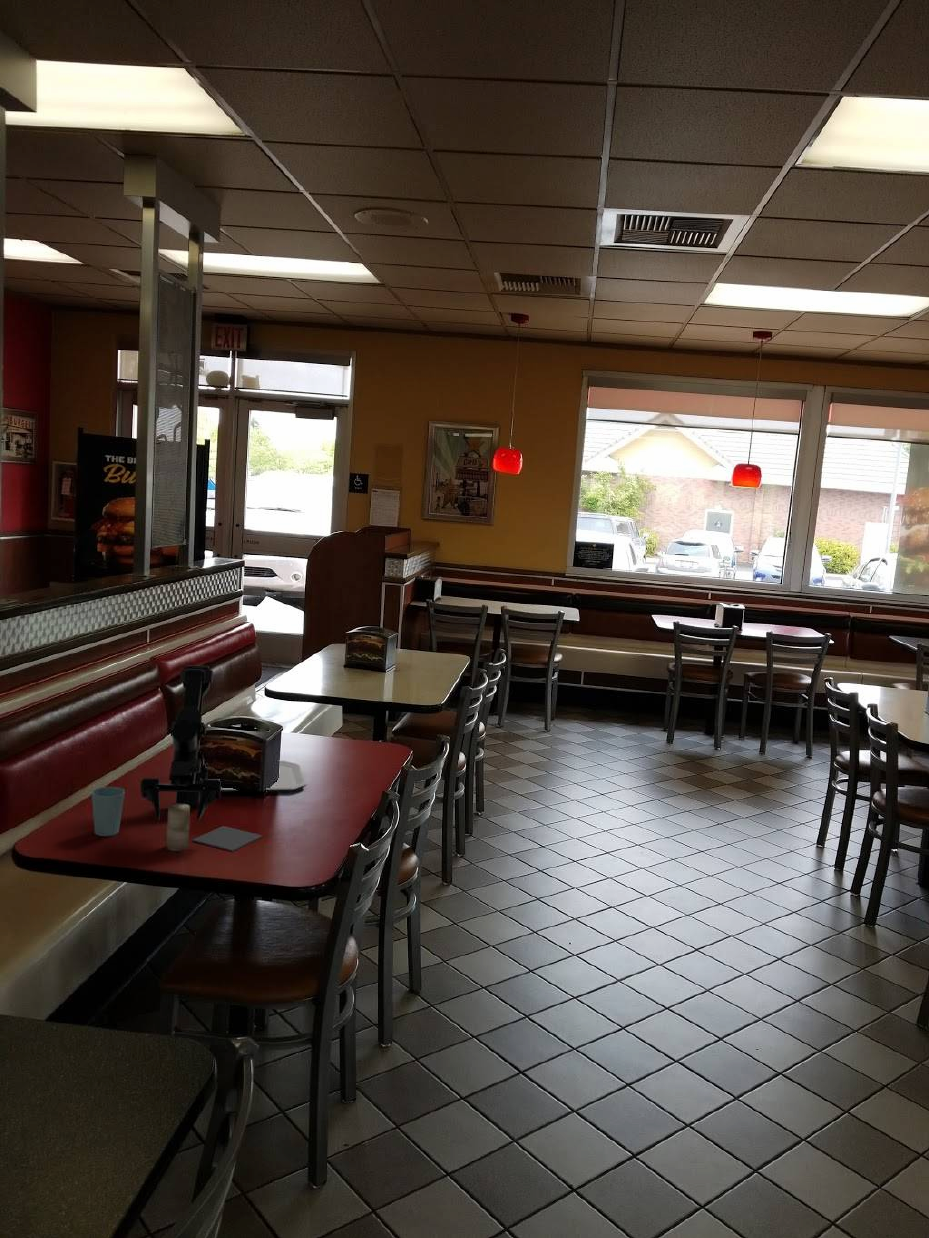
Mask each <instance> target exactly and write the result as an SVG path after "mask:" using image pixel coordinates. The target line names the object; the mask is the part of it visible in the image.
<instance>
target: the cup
mask: <svg viewBox="0 0 929 1238" xmlns="http://www.w3.org/2000/svg"><path fill="white" fill-rule="evenodd" d="M90 792H91V802H92V814H93V815H92V816H93V825H94V826H93V827H94V828H93V829H94V834H95V835H97V836H100V837H111V836H115V835H117V834H119V831H120V825H121V819H122V812H123V805H124V799H125V794H126V790H125V789H124V788H121V787H116V786H105V787H99V788H98V787H97V788H95V789H92V790H91V791H90Z"/></svg>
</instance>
